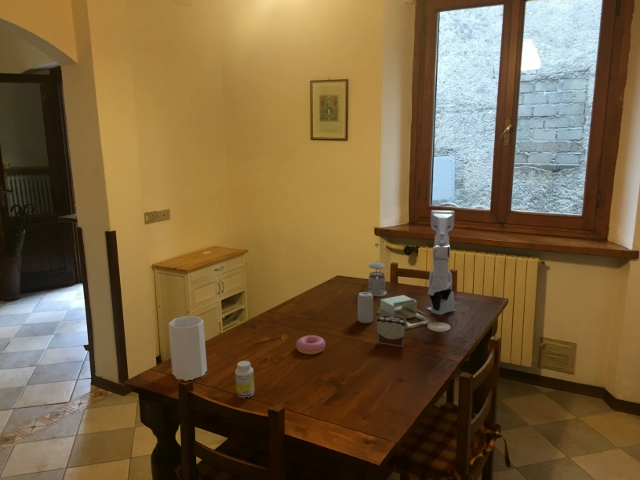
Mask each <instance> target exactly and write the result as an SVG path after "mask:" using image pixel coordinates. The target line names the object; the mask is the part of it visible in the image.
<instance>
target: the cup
mask: <svg viewBox="0 0 640 480" xmlns="http://www.w3.org/2000/svg"><path fill="white" fill-rule="evenodd" d="M204 323H205V322H204V320H203V319H202V318H201V317H200V316H195V315H185V316H180V317H176V318H173V319H172V320H171V321H170V322H168V339H169V346H170V347H169V348H170V350H169V351H170V358H171V372H172V376H173V375H174V376H175V377H176V378H177V379H183V380H184V381H185V382H189V381H188V380H192V381H194V380H193V379H195V378H198V377H201V376H203V375H204V376H205V375H206V373H207V372H208V367H207V366H208V365H207V354H206V353H207V351H206V337H205V324H204ZM206 371H207V372H206ZM205 372H206V373H205ZM174 376H173V377H174ZM204 376H203V377H204ZM175 377H174V378H175ZM176 378H175V379H176ZM201 378H202V377H201ZM177 379H176V380H177ZM198 379H199V378H198ZM195 380H196V379H195Z"/></svg>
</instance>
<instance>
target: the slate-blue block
mask: <svg viewBox="0 0 640 480" xmlns="http://www.w3.org/2000/svg"><path fill="white" fill-rule="evenodd" d="M430 302H431V304H430V307H431V311H430V313H432V314H436V315H439V316H442V315H444V314H446V312H447V300H445V299H441V302H440V308H439V310H434V309H433V305H432V301H431V300H430ZM447 313H448V312H447Z"/></svg>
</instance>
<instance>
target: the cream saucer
mask: <svg viewBox="0 0 640 480" xmlns="http://www.w3.org/2000/svg"><path fill="white" fill-rule="evenodd" d="M427 329H429V330H430V331H432V332H435V333H436V332H437V333H445V332H449V331H450V330H451V325H450V324H448V323H446V322H442V321H441V322H440V321H436V322H433V323H429V324H427Z"/></svg>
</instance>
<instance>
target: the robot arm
mask: <svg viewBox="0 0 640 480" xmlns="http://www.w3.org/2000/svg"><path fill="white" fill-rule="evenodd" d="M454 226H455V211H454V210H434V209H431V211H430V227H431V230H433V231H434V232H435V235H434V245H433V247H432V260H433V261H432V263H433V269H432V270H431V271H430V272H429V275H428V276H429V277H428V290H427V291H428V292H427V294H428V295H427V296H429V298H430V302H431V301H432V305H433V309H434V310H439V308H440V302H441V299H445V300H447V312H446V313H447V314H448V313H450V312H455V311H456V309H455V294H454V292H453V291H452V289H453V274H452V272H451V271H450V270H449V261H450V258H451V246H450V236H449V232H451V231H453V229H454ZM426 309H427V310H429V311H430V312H431V306H429V307H427V308H426ZM446 313H445V314H446Z"/></svg>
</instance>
